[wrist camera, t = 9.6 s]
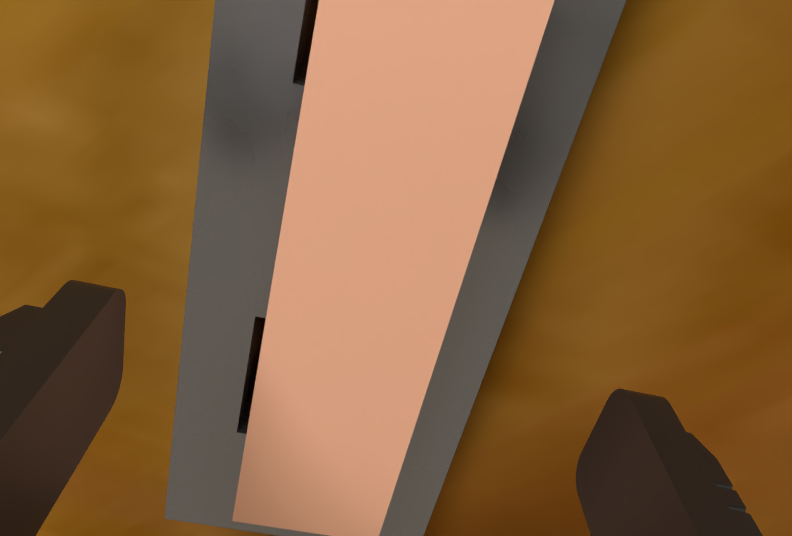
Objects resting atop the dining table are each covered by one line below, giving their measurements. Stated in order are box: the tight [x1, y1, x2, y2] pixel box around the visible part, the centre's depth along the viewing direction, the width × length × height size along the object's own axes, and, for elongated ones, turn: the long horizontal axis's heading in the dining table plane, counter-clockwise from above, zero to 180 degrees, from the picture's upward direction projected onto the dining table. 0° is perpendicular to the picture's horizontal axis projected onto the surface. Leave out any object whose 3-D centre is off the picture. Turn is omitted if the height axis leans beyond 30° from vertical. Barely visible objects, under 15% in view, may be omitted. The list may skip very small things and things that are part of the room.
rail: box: [165, 0, 626, 536], centre depth 17 cm, size 8×22×4 cm, turn 167°
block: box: [232, 0, 554, 536], centre depth 15 cm, size 4×14×6 cm, turn 167°
